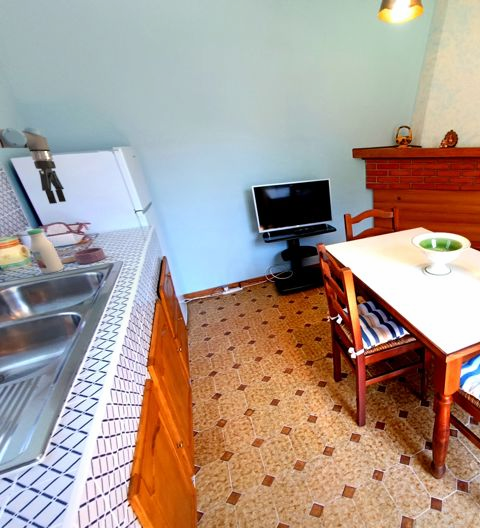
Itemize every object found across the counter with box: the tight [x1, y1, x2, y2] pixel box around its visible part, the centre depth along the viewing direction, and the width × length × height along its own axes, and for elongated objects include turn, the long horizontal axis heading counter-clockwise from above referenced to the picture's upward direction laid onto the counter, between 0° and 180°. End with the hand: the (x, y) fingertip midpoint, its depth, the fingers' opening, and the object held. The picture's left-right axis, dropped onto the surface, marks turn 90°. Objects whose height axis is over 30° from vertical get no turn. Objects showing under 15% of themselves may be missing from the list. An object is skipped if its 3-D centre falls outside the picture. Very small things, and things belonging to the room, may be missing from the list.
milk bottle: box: [26, 228, 64, 275], centre depth 138 cm, size 8×8×20 cm
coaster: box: [60, 255, 76, 265], centre depth 155 cm, size 11×11×1 cm
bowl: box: [72, 246, 106, 265], centre depth 152 cm, size 12×12×5 cm
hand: (58, 202), depth 159 cm, fingers open, 13 cm apart
